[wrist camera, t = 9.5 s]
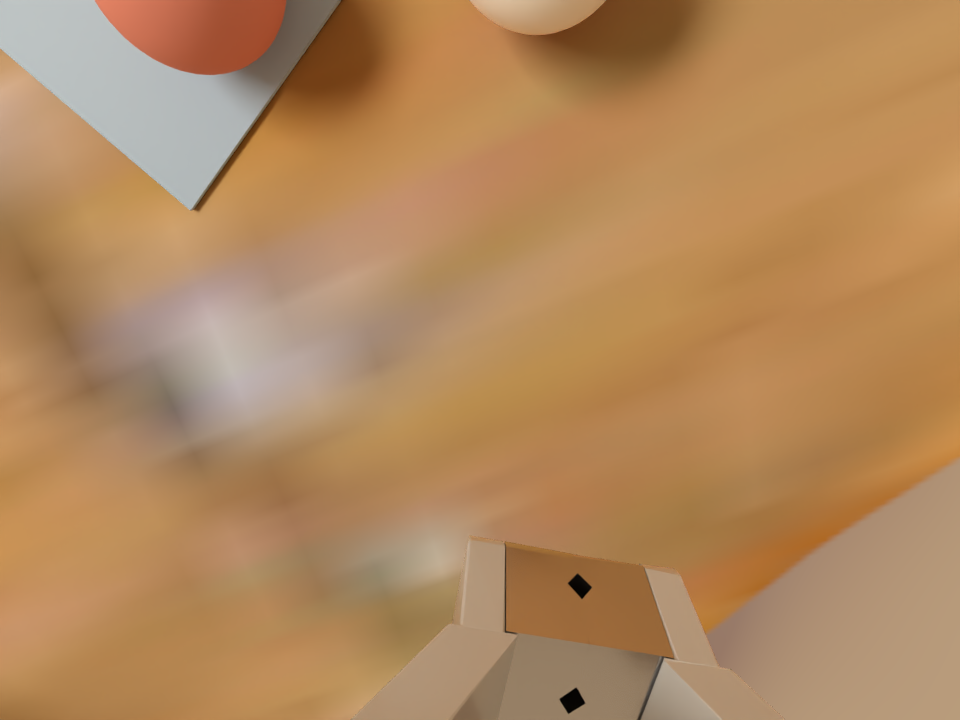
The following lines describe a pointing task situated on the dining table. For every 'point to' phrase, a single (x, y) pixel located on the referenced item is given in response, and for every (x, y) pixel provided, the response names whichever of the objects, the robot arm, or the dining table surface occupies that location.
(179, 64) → the red ball
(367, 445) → the dining table surface
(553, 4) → the cue ball
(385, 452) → the dining table surface
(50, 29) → the mark
